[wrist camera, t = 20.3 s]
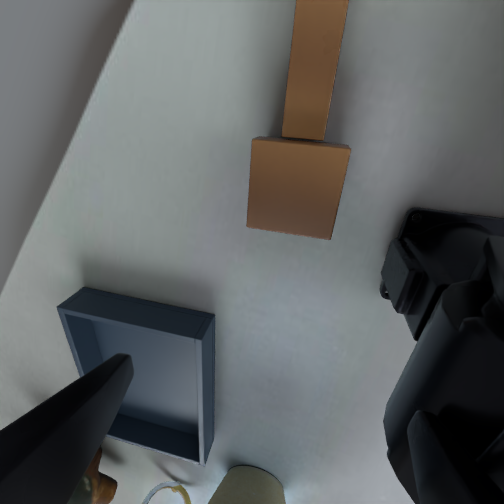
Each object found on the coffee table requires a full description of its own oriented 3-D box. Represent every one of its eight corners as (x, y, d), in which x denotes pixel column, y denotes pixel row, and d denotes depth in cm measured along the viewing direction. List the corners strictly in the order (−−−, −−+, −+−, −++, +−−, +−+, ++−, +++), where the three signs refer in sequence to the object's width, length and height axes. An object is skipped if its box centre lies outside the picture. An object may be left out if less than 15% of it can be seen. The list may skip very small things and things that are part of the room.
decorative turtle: (46, 407, 39) (-8, 472, 32) (140, 454, 42) (108, 524, 34) (32, 435, 43) (-19, 498, 36) (117, 476, 46) (85, 542, 39)
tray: (215, 314, 24) (201, 340, 21) (214, 437, 33) (204, 466, 30) (83, 286, 26) (55, 307, 23) (116, 409, 35) (99, 434, 32)
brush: (279, -55, 13) (267, -106, 10) (389, -58, 12) (410, -113, 9) (257, 209, 19) (246, 227, 16) (329, 219, 18) (330, 240, 15)
